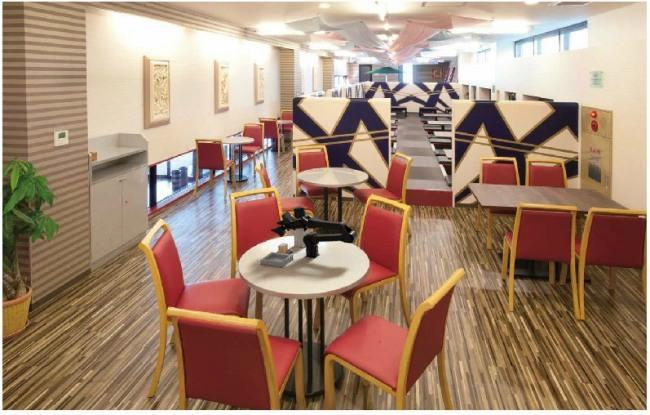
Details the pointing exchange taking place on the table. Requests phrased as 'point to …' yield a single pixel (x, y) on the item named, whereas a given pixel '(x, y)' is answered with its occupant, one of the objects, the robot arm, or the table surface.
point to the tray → (276, 259)
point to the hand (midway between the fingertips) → (273, 226)
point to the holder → (287, 252)
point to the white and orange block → (283, 248)
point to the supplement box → (300, 237)
